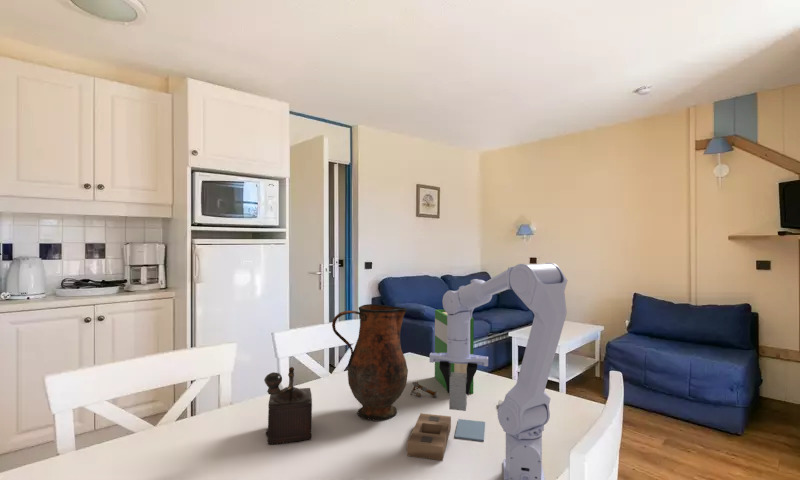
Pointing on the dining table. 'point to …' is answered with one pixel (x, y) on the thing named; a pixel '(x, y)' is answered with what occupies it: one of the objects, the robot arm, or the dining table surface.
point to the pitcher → (377, 361)
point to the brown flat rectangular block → (429, 437)
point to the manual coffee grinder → (288, 411)
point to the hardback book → (442, 346)
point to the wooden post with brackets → (431, 392)
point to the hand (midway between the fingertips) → (458, 392)
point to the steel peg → (458, 391)
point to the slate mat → (470, 430)
